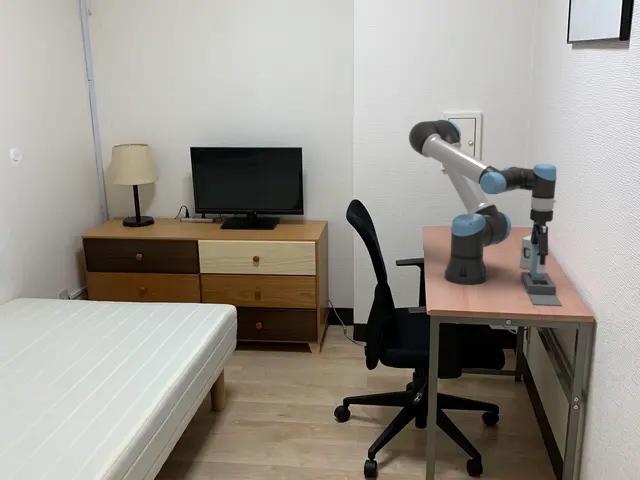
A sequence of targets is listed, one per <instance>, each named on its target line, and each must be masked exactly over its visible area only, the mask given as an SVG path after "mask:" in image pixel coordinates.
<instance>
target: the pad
mask: <svg viewBox="0 0 640 480" xmlns="http://www.w3.org/2000/svg"><path fill="white" fill-rule="evenodd" d="M528 297H529V299H530V301H531V303H532V305H533V306H545V307H546V306H547V307H548V306H550V307H562V306H563V304H562V302H561V301H560V299H559V297H558V296H557V295H534V294H528Z"/></svg>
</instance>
